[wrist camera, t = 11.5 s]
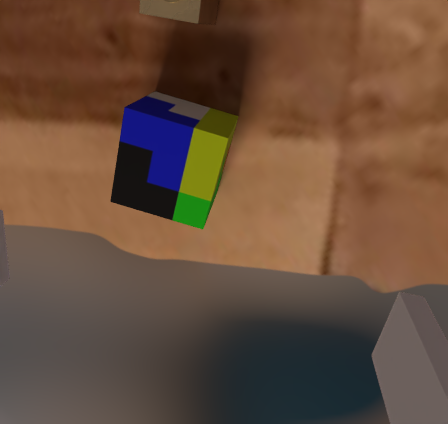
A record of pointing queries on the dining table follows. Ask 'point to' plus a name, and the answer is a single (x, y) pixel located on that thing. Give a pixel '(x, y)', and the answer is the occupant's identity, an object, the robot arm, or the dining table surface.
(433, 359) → the robot arm
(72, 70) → the dining table surface
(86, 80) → the dining table surface
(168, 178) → the puzzle toy
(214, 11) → the tan block with knob
